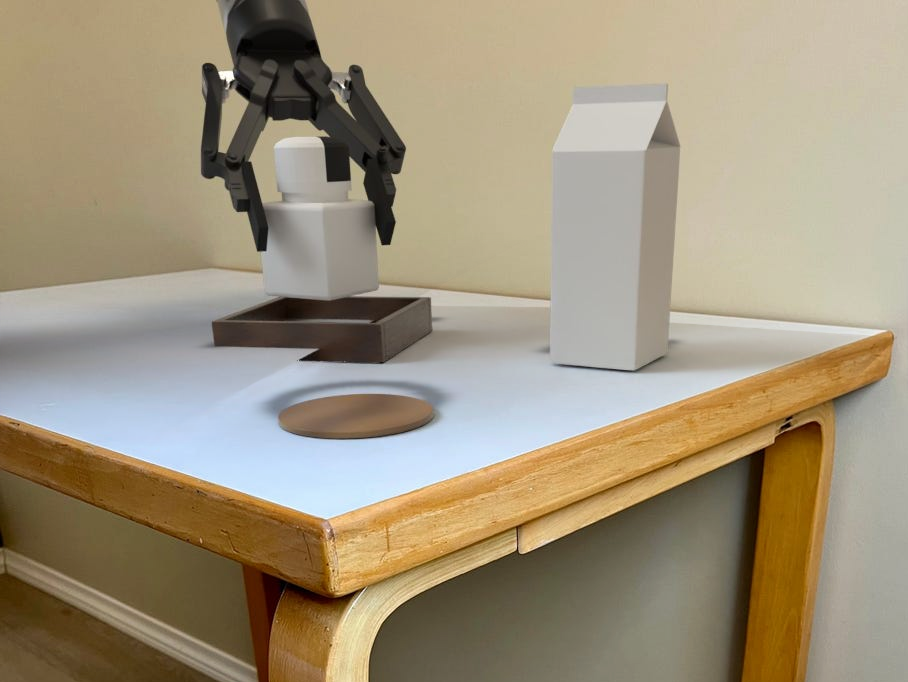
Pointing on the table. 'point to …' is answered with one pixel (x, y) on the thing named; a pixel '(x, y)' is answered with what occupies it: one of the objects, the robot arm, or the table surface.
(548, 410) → the table surface
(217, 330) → the walnut frame box
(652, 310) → the milk carton
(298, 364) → the table surface
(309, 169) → the medicine bottle
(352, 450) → the table surface
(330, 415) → the cork coaster
